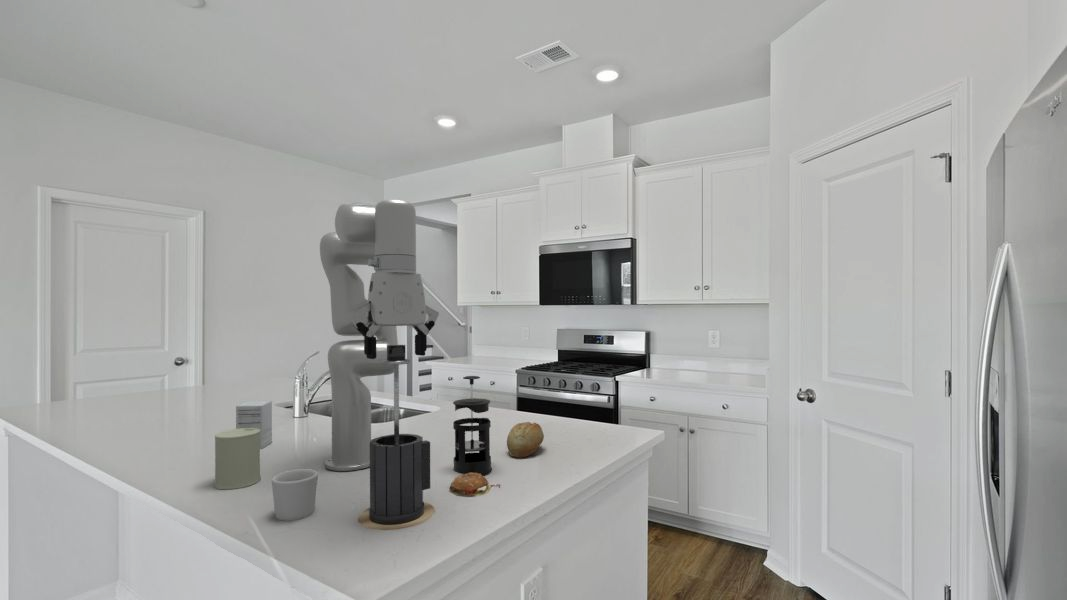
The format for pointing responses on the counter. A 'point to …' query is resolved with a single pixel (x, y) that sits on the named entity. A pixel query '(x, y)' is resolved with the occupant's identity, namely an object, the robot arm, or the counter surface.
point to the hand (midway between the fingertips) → (396, 356)
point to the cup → (294, 493)
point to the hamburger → (470, 485)
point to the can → (237, 458)
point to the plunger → (396, 380)
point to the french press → (472, 460)
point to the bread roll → (524, 439)
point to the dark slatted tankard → (398, 478)
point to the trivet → (428, 513)
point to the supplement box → (256, 419)
